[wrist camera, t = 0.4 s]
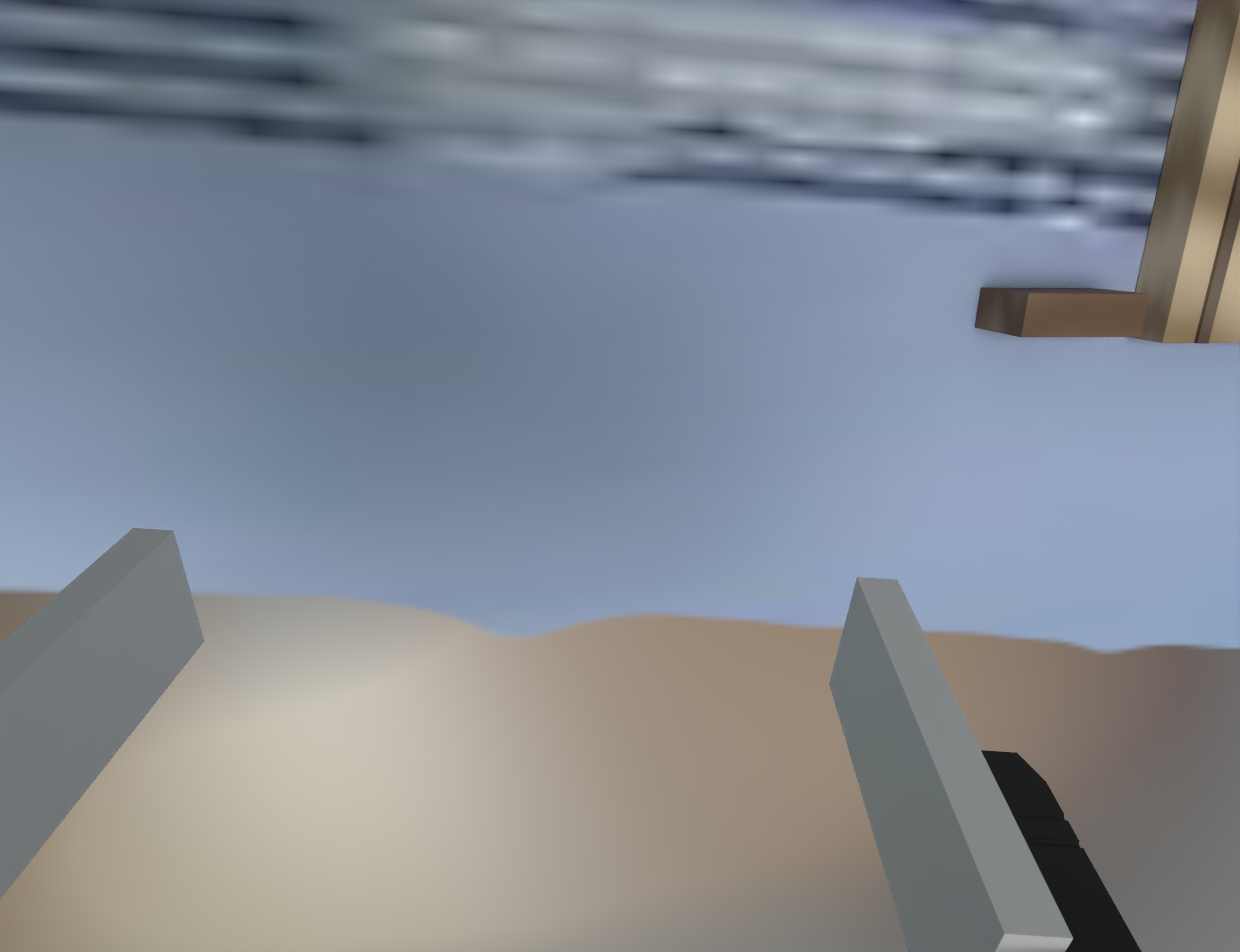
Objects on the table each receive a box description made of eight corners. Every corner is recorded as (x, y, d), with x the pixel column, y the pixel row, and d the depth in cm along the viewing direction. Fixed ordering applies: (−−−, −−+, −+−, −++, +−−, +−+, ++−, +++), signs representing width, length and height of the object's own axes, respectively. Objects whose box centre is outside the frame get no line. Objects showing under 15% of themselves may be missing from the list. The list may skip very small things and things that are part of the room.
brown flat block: (980, 287, 38) (1028, 293, 34) (1091, 288, 38) (1150, 293, 34) (974, 327, 38) (1021, 337, 34) (1083, 327, 39) (1140, 336, 35)
